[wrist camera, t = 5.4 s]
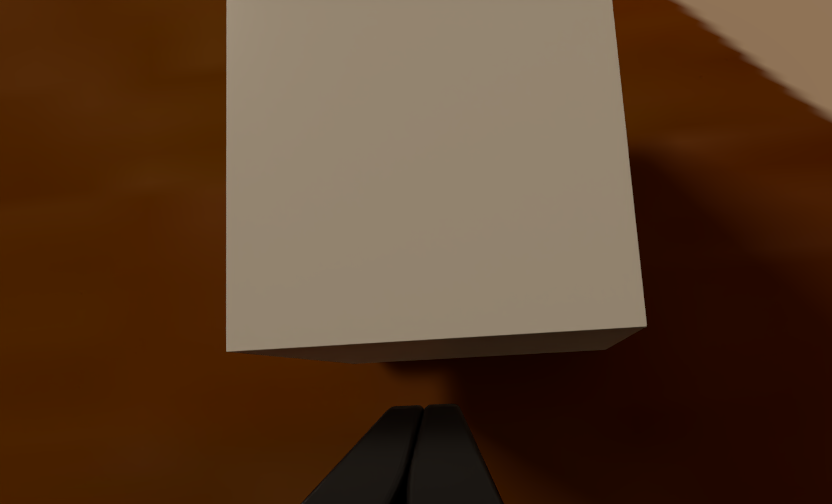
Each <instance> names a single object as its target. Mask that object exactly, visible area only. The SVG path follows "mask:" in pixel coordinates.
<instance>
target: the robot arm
mask: <svg viewBox="0 0 832 504" xmlns="http://www.w3.org/2000/svg"><path fill="white" fill-rule="evenodd" d="M301 504H504V503H503V501H502V499H501V496H500V494H499V492H498V490H497V488H496V486H495V483H494V481H493V479H492V477H491V475H490V472H489V470H488V468H487V466H486V464H485V461H484V459H483V457H482V455H481V453H480V450H479V448H478V446H477V444H476V442H475V439H474V437H473V435H472V433H471V431H470V428H469V426H468V424H467V422H466V420H465V418H464V415H463V413H462V411H461V409H460V407H459V406H458V405H456V404H435V405H428V406H427V407H426V408H425V409H424V408H423V407H421V406H419V405H414V406H394V407H391V408H390V409H388V410H387V411H386V412H385V413H384V414H383V415H382V417H381V418H380V419H379V420H378V421H377V422H376V423H375V424H374V425H373V426H372V427H371V428H370V430H369V431H368V432H367V433H366V434H365V435H364V436H363V437H362V438H361V439H360V440H359V441H358V442H357V444H356V445H355V446H354V447H353V448H352V449H351V450H350V451H349V452H348V453H347V454H346V455H345V457H344V458H343V459H342V460H341V461H340V462H339V463H338V464H337V465H336V466H335V467H334V468H333V469H332V471H331V472H330V473H329V474H328V475H327V476H326V477H325V478H324V479H323V480H322V481H321V482H320V484H319V485H318V486H317V487H316V488H315V489H314V490H313V491H312V492H311V493H310V494H309V495H308V496H307V498H306V499H305V500H304V501H303V502H302V503H301Z"/></svg>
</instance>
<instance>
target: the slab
mask: <svg viewBox="0 0 832 504" xmlns="http://www.w3.org/2000/svg"><path fill="white" fill-rule="evenodd" d="M645 327H647V322H646V312H645V303H644V294H643V284H642V275H641V266H640V257H639V247H638V238H637V229H636V219H635V210H634V201H633V191H632V182H631V173H630V164H629V154H628V145H627V136H626V126H625V117H624V108H623V99H622V89H621V80H620V71H619V61H618V52H617V43H616V34H615V24H614V15H613V6H612V0H227V149H226V352H235V353H246V354H256V355H267V356H277V357H288V358H298V359H309V360H319V361H330V362H340V363H351V364H358V363H376V362H394V361H413V360H431V359H449V358H467V357H485V356H503V355H521V354H539V353H557V352H575V351H593V350H606V349H608V348H610V347H611V346H613V345H615V344H617V343H618V342H620V341H622V340H624V339H626V338H627V337H629V336H631V335H633V334H634V333H636V332H638V331H640V330H641V329H643V328H645Z"/></svg>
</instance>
